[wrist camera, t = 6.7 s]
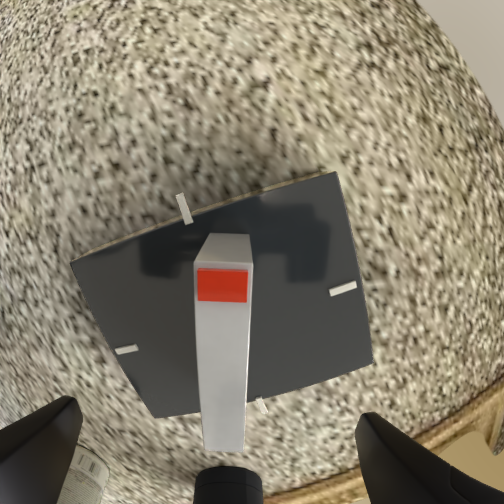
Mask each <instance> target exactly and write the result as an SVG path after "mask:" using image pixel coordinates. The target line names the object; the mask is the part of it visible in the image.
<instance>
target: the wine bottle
mask: <svg viewBox="0 0 504 504" xmlns="http://www.w3.org/2000/svg"><path fill="white" fill-rule="evenodd" d="M193 504H263V491H262V481H261V479H260V477H259V476H258V475H257V474H255V473H254V472H252V471H249V470H246V469H242V468H237V467H214V468H210V469H206V470H204V471H202V472H200V473H199V474H198V476H197V477H196V483H195V491H194V500H193Z"/></svg>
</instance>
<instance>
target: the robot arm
mask: <svg viewBox="0 0 504 504" xmlns="http://www.w3.org/2000/svg"><path fill="white" fill-rule="evenodd" d="M82 422H83V415H82V412H81V410H80V407H79V405H78V402H77V400H76V399H75V398H74V397H70V396H66V395H64V396H62V397H60V398H58V399H56V400H55V401H53V402H51V403H49V404H47V405H46V406H44V407H42V408H40V409H38V410H36V411H35V412H33V413H31V414H29V415H27V416H25V417H24V418H22V419H20V420H18V421H16V422H14V423H12V424H10V425H9V426H7V427H5V428H3V429H1V430H0V504H57V502H58V499H59V496H60V493H61V490H62V487H63V484H64V481H65V478H66V476H67V473H68V470H69V467H70V465H71V462H72V459H73V456H74V453H75V449H76V445H77V441H78V437H79V433H80V430H81V426H82ZM355 440H356V445H357V450H358V456H359V461H360V467H361V472H362V476H363V480H364V483H365V486H366V489H367V492H368V496H369V498H370V502H371V504H504V492H502V491H500V490H497V489H495V488H493V487H490V486H488V485H486V484H484V483H481V482H480V481H478V480H476V479H474V478H472V477H469V476H468V475H466V474H465V473H463V472H461V471H459V470H458V469H456V468H455V467H454V466H450V464H449V463H447V462H446V461H444V460H443V459H441V458H440V457H438V456H437V455H435V454H434V453H432V452H431V451H429V450H428V449H426V448H425V447H423V446H422V445H421V444H419V443H418V442H416V441H415V440H413V439H412V438H410V437H409V436H408V435H406V434H405V433H403V432H402V431H400V430H399V429H398V428H396V427H395V426H393V425H392V424H391V423H389V422H388V421H387V420H385V419H384V418H382V417H381V416H380V415H378V414H377V413H375V412H368V413H363V414H362V415H361V416H360V419H359V422H358V424H357V427H356V429H355Z"/></svg>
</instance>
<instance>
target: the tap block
mask: <svg viewBox="0 0 504 504" xmlns="http://www.w3.org/2000/svg"><path fill="white" fill-rule="evenodd" d="M175 196H176V199H177V202H178V205H179V208H180V211H181V214H182V215H180V216H177V217H175V218H172V219H169V220H166V221H163V222H161V223H158V224H155V225H153V226H150V227H147V228H144V229H142V230H139V231H137V232H134V233H131V234H129V235H126V236H124V237H121V238H118V239H116V240H113V241H111V242H108V243H106V244H103V245H101V246H98V247H96V248H93V249H92V250H90V251H88V252H86V253H85V254H83V255H81V256H79V257H77V258H76V259H74V260H72V261H71V262H70V265H71V268H72V270H73V273H74V275H75V277H76V280H77V282H78V284H79V286H80V289H81V291H82V293H83V295H84V298H85V300H86V302H87V304H88V306H89V308H90V310H91V312H92V314H93V316H94V318H95V320H96V322H97V324H98V326H99V328H100V330H101V332H102V334H103V336H104V338H105V340H106V341H107V343H108V345H109V347H110V349H111V350H112V352H113V354H114V356H115V357H116V359H117V361H118V363H119V364H120V366H121V368H122V369H123V371H124V373H125V374H126V376H127V378H128V379H129V381H130V382H131V384H132V386H133V387H134V389H135V390H136V392H137V393H138V395H139V396H140V398H141V399H142V401H143V402H144V404H145V405H146V407H147V408H148V410H149V411H150V412H151V414H152V415H153V417H154V418H164V417H171V416H178V415H185V414H192V413H198V412H200V400H199V387H198V372H197V355H196V335H195V309H194V260H195V258H196V257H197V255H198V253H199V251H200V249H201V247H202V246H203V244H204V242H205V240H206V238H207V237H208V235H209V233H230V234H249V235H250V242H251V250H252V258H253V282H252V302H251V322H250V342H249V362H248V382H247V402H246V403H248V402H252V401H256V402H257V404H258V406H259V408H260V410H261V412H262V414H266V413H268V410H267V408H266V406H265V404H264V401H263V399H265V398H269V397H272V396H276V395H280V394H284V393H287V392H291V391H294V390H298V389H301V388H304V387H308V386H311V385H314V384H317V383H320V382H323V381H326V380H329V379H332V378H335V377H338V376H341V375H344V374H347V373H349V372H352V371H355V370H357V369H360V368H363V367H365V366H368V365H370V364H373V363H374V358H373V350H372V342H371V334H370V327H369V320H368V313H367V307H366V301H365V295H364V289H363V283H362V278H361V273H360V267H359V262H358V257H357V253H356V248H355V243H354V239H353V234H352V230H351V225H350V221H349V217H348V213H347V209H346V205H345V201H344V197H343V193H342V189H341V185H340V182H339V178H338V174H337V172H336V171H325V172H316V173H313V174H309V175H306V176H302V177H299V178H295V179H292V180H288V181H285V182H282V183H278V184H275V185H272V186H268V187H265V188H262V189H259V190H255V191H252V192H249V193H246V194H243V195H239V196H236V197H233V198H230V199H227V200H224V201H221V202H218V203H215V204H212V205H209V206H206V207H203V208H200V209H197V210H194V211H192V212H190V211H189V208H188V205H187V202H186V199H185V196H184V193H180V194H177V195H175Z"/></svg>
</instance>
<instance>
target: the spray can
mask: <svg viewBox="0 0 504 504" xmlns="http://www.w3.org/2000/svg"><path fill="white" fill-rule="evenodd" d="M108 478H109V468H108V467H107V466H106V465H105V463H104V462H103V461H102V460H101V459H100V458H99V457H98V456H96V455H95V454H94V453H93V452H91V451H89V450H87V449H85V448H83V447H81V446H79V445H76V449H75V453H74V456H73V459H72V462H71V465H70V467H69V470H68V473H67V476H66V478H65V481H64V484H63V487H62V490H61V493H60V496H59V499H58V502H57V504H100V502H101V499H102V496H103V493H104V490H105V487H106V484H107V481H108Z"/></svg>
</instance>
